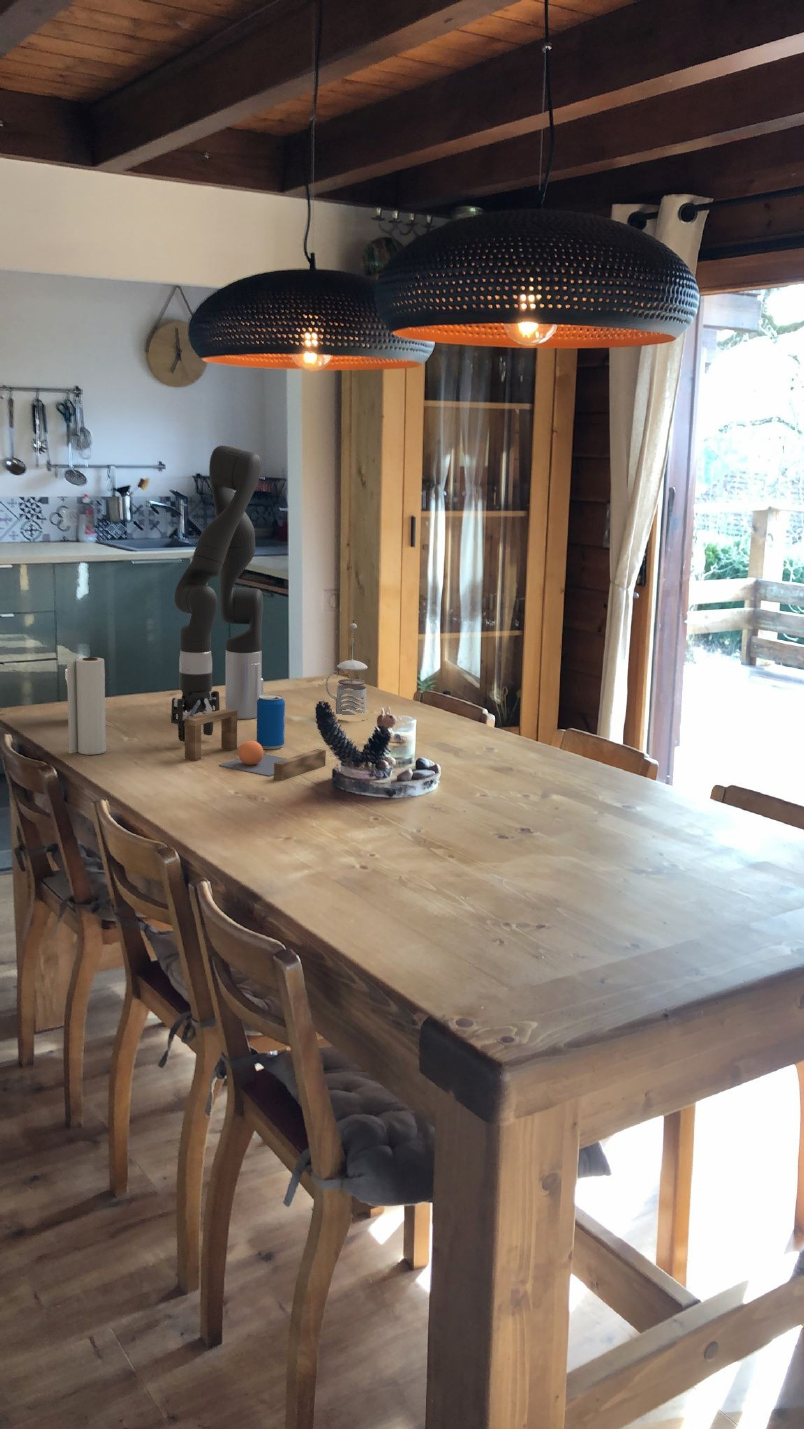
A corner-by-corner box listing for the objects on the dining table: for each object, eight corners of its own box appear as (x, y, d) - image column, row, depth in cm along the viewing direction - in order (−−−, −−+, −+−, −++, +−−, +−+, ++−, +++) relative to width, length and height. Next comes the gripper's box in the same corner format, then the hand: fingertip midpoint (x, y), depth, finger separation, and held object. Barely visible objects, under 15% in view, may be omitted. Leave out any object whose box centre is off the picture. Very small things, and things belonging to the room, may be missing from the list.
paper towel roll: (109, 749, 272) (108, 657, 267) (100, 756, 266) (98, 661, 261) (78, 747, 272) (76, 655, 268) (69, 754, 266) (66, 659, 262)
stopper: (318, 764, 266) (318, 748, 265) (325, 765, 265) (325, 750, 264) (273, 778, 253) (274, 762, 252) (281, 780, 252) (281, 764, 251)
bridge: (184, 759, 266) (184, 718, 264) (226, 746, 278) (227, 708, 276) (195, 761, 265) (195, 720, 263) (236, 748, 277) (237, 710, 275)
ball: (271, 747, 262) (264, 769, 263) (256, 736, 265) (249, 758, 267) (252, 747, 258) (245, 770, 259) (237, 736, 261) (230, 758, 263)
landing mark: (258, 753, 273) (258, 752, 273) (308, 763, 266) (308, 762, 266) (218, 765, 261) (218, 764, 261) (269, 776, 254) (269, 775, 254)
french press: (368, 722, 309) (371, 626, 304) (323, 720, 309) (326, 625, 304) (370, 714, 319) (373, 621, 313) (326, 712, 319) (328, 619, 313)
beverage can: (282, 750, 277) (283, 699, 274) (254, 749, 277) (255, 698, 274) (285, 744, 283) (286, 694, 281) (258, 742, 283) (259, 693, 281)
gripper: (187, 676, 269) (187, 746, 272) (228, 667, 280) (227, 735, 284) (162, 671, 272) (162, 741, 276) (203, 664, 284) (203, 730, 288)
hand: (195, 738), depth 280 cm, fingers open, 8 cm apart
